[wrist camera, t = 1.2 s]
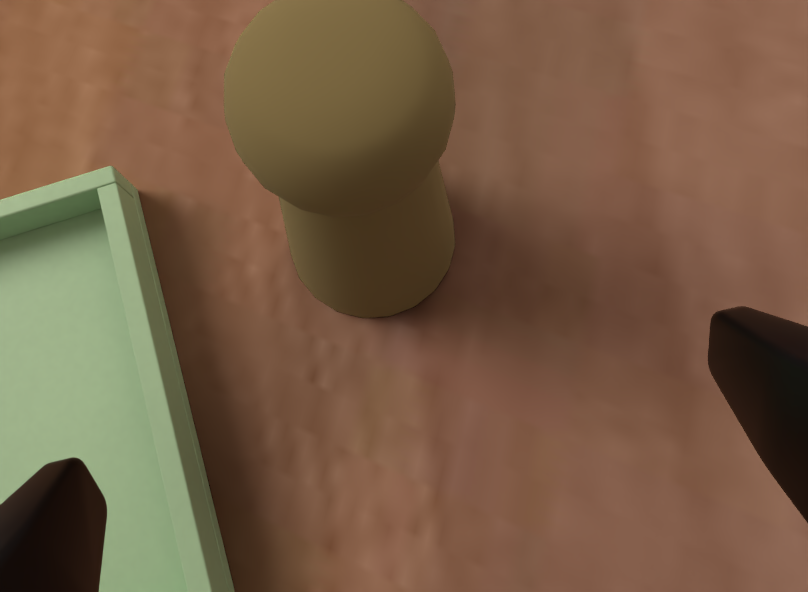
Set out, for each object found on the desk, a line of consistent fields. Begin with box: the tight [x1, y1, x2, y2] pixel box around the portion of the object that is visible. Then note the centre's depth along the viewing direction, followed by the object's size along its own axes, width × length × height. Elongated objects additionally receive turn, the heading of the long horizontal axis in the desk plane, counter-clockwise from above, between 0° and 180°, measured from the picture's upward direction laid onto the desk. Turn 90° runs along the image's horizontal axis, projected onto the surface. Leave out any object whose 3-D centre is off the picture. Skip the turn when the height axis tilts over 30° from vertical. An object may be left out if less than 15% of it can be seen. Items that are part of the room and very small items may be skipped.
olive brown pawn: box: [224, 0, 456, 318], centre depth 19 cm, size 6×6×11 cm
